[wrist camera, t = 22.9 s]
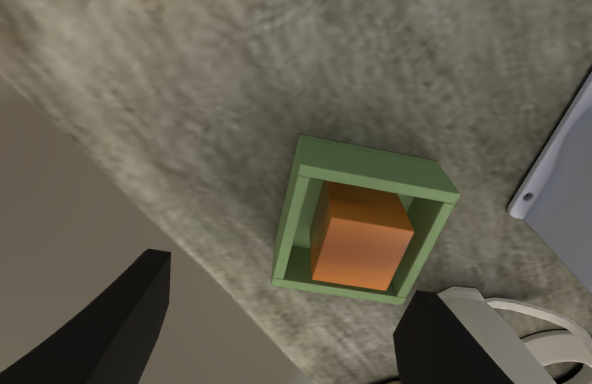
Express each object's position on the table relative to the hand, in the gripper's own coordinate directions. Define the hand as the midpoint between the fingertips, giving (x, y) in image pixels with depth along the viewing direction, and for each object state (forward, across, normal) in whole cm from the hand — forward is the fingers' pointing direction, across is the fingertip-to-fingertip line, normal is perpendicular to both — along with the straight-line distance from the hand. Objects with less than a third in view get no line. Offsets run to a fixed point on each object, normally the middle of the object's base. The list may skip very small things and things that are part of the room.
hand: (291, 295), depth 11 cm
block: (+10, -4, +3) cm, 11 cm away
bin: (+10, -4, +3) cm, 12 cm away
